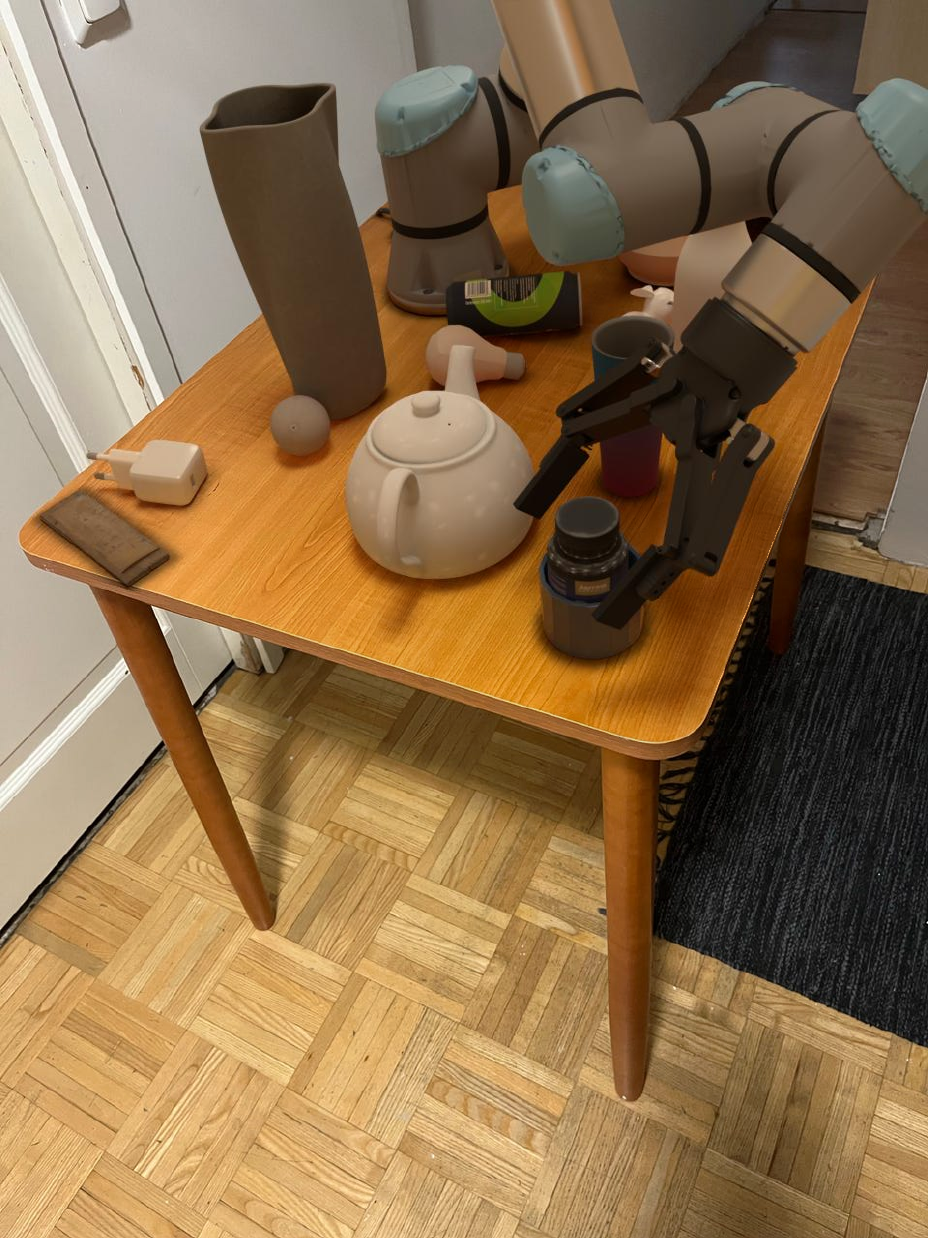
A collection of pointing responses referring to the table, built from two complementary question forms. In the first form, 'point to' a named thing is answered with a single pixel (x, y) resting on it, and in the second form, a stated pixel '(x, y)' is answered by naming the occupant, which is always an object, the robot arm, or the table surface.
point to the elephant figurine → (655, 303)
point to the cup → (638, 451)
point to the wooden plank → (104, 537)
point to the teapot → (439, 481)
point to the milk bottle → (704, 271)
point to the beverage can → (516, 304)
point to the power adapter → (157, 471)
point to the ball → (300, 425)
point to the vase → (299, 238)
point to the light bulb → (486, 360)
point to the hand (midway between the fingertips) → (563, 564)
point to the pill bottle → (586, 550)
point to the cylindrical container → (584, 622)
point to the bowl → (655, 261)
